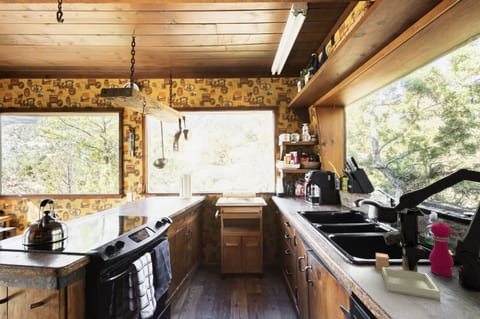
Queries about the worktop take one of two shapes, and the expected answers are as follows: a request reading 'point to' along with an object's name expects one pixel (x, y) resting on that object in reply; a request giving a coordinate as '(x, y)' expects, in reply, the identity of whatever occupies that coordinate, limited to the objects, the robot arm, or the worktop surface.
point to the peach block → (382, 261)
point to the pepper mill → (441, 249)
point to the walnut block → (405, 264)
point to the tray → (410, 283)
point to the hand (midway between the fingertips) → (409, 268)
